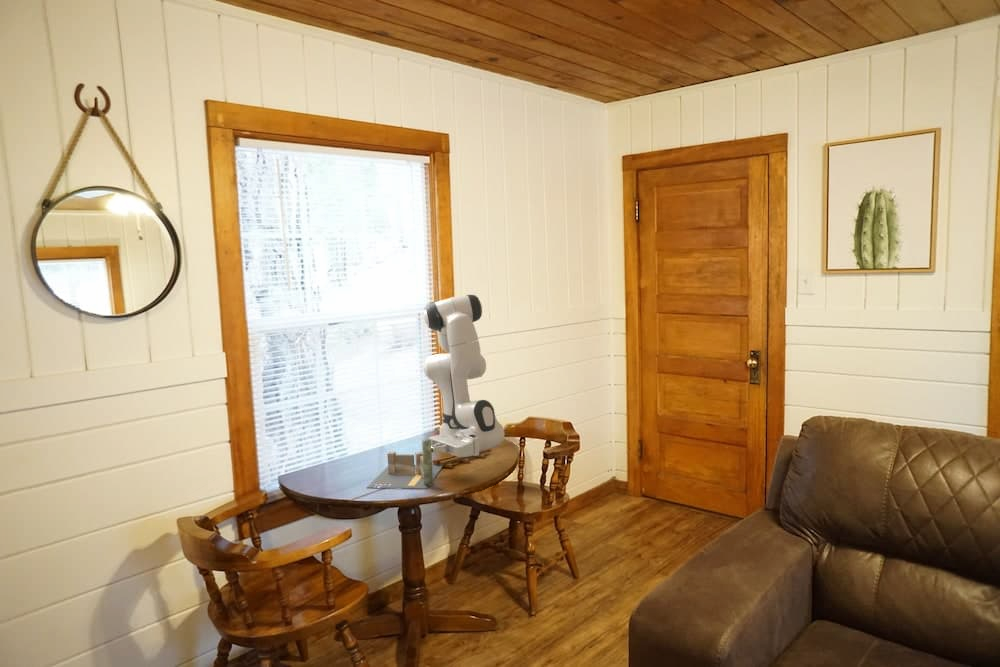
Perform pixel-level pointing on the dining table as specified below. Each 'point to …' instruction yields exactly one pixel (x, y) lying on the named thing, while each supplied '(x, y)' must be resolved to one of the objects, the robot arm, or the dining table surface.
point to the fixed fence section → (400, 463)
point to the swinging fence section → (425, 462)
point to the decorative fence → (457, 459)
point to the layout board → (403, 479)
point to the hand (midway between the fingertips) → (431, 449)
